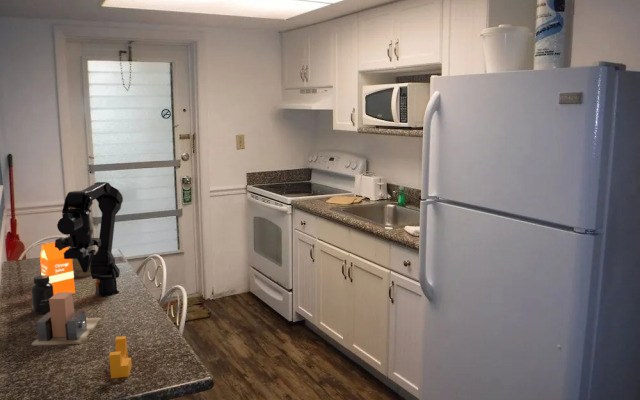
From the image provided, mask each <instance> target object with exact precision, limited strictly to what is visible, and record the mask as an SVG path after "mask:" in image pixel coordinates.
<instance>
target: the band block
mask: <svg viewBox="0 0 640 400" xmlns="http://www.w3.org/2000/svg"><path fill="white" fill-rule="evenodd" d="M86 315H87V314H86V310H78V311H75V312H74V315H73V316H72V317H71V318H70V319H69V320H67V323H66V324H65V328H66V339H67V340H78V339H79V337H80V336H81V335H82V334H83V333H84V332H85V331H86V330H87V323H86V318H87V316H86ZM36 329H37V338H38V340H39V341H50V340H51V339H52V338H53V333H52V323H51V313H50V312H47V313H45V314H44V315H43V316H42V317H41V318H39V320H37V321H36Z"/></svg>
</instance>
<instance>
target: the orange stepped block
mask: <svg viewBox="0 0 640 400" xmlns="http://www.w3.org/2000/svg"><path fill="white" fill-rule="evenodd" d="M128 353H129V352H128V343H127V335H123V336H116V337H115V351H110V352H109V355H108V356H109V357H108V358H109V369H110V370H109V372H110V379H118V378H128V377H130V373H131V370H132V366H133V365H132V364H133V363H132V357H129V354H128Z"/></svg>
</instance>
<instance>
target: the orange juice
mask: <svg viewBox="0 0 640 400" xmlns="http://www.w3.org/2000/svg"><path fill="white" fill-rule="evenodd" d="M69 248H70V247H66V248H64V249H62V250H60V251H59V250H58V248H55V241H53V242H47V243H43V244H41V250H40V255H39V261H40V263H39V264H40V273H41V275H48V276H49V280H50V281H49V283H51V284H52V285H53V291H54V295H55V294H56V293H58V292H72V294H75V293H76V287H75V279H74V278H75V276H74V270H73V259H64V254H63V253H64V252H65V251H66V250H68V249H69ZM41 275H40V276H41Z"/></svg>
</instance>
